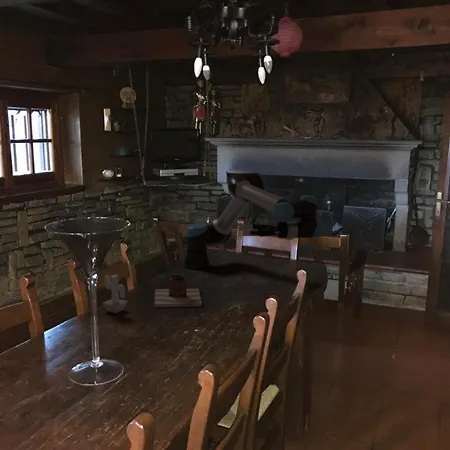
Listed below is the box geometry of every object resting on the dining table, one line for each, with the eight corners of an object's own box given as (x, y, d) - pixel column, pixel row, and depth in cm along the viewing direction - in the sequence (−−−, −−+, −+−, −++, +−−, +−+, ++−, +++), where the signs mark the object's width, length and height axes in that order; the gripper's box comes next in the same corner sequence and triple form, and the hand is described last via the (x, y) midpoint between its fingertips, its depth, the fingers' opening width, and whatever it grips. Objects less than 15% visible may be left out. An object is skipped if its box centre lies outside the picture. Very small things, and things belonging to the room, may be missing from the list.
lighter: (187, 294, 224) (187, 273, 223) (186, 297, 221) (186, 275, 219) (169, 294, 225) (169, 272, 223) (168, 296, 221) (168, 274, 220)
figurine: (118, 315, 202) (118, 279, 199) (100, 311, 206) (99, 275, 203) (129, 309, 208) (129, 275, 206) (111, 306, 212) (111, 271, 210)
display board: (155, 292, 232) (155, 289, 231) (198, 291, 234) (198, 288, 234) (154, 307, 212) (154, 303, 212) (201, 306, 215) (201, 303, 214)
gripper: (292, 243, 218) (244, 243, 216) (280, 233, 242) (237, 233, 240) (293, 225, 217) (244, 226, 215) (281, 218, 241) (237, 218, 239)
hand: (240, 230), depth 227 cm, fingers open, 13 cm apart
